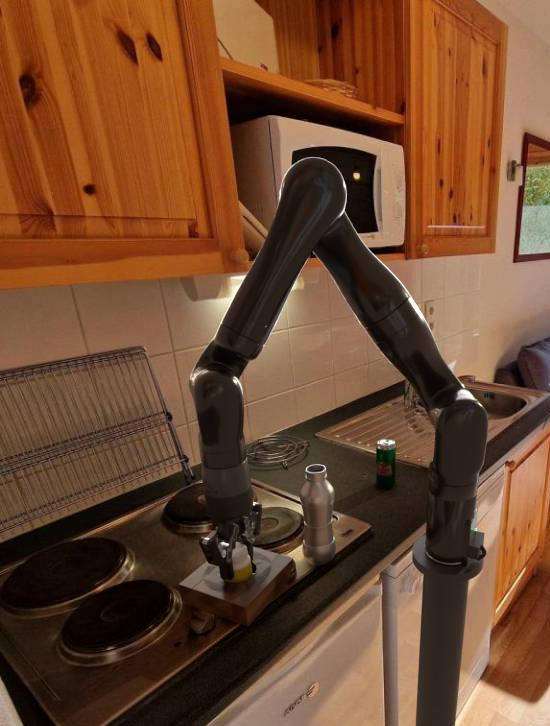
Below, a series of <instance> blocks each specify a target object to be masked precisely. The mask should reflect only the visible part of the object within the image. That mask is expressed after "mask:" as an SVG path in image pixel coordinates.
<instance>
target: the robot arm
mask: <svg viewBox="0 0 550 726" xmlns="http://www.w3.org/2000/svg"><path fill="white" fill-rule="evenodd" d="M279 188H280V189H279V193H278V203H277V207H276V210H275V213H274V217H273V220H272V222H271V225H270V228H269V230H268V232H267V235H266V237H265V239H264V241H263V243H262V245H261V248H260V249H259V252H258V254H257V255H256V257H255V259H254V261H253V262H252V264H251V266H250V268H249V270H248V271H247V273H246V275H245V277H244V278H243V280H242V281H241V283H240V284H239V287H238V288H237V290H236V292H235V294H234V296H233V298H232V299H231V302H230V303H229V306H228V307H227V309H226V311H225V313H224V315H223V317H222V319H221V321H220V323H219V325H218V328H217V330H216V333H215V335H214V337H212V338H211V341H210V342H209V343H208V345H206V347H205V348H204V350H203V351H202V353H201V355H200V356H199V358H198V359H197V362H196V363H195V365H194V367H193V369H192V371H191V373H190V376H189V380H188V389H189V392H190V394H191V397H192V399H193V404H194V409H195V414H196V420H197V425H198V430H199V431H198V435H197V436H198V439H197V440H198V450H199V455H200V461H201V462H200V464H201V481H202V489H203V495H204V501H205V508H206V513H207V514H208V517H209V518H210V519H211V527H210V532H209V534H207V536H200V537H199V539H198V545H199V547H200V549H201V551H202V553H203V555H204V558H205V560H206V562H208V563H209V564H212V565H215V566H218V567H219V571H220V576H221V577H222V578H224V579H227V580H232V579H233V578H234V570H233V562H232V561H231V560H232V553H233V550H234V549H235V548H236V542H237V539H239V543H240V544H244V545H245V546H246V547H247V551H248V555H249V556H250V559H251V562H252V561H253V560H254V558H253V556H254V551H253V547H254V543H255V538H256V536H259V535H260V534H261V530H262V529H261V528H262V516H263V514H262V513H263V511H262V510H263V504H262V503H259V502H255V501H254V496H253V487H252V475H251V470H250V465H249V461H248V456H247V446H246V437H245V433H244V427H245V426H244V425H245V398H244V392H243V391H244V390H243V387H242V384H241V381H240V378H241V377H242V374H243V373H244V371H245V370H246V368H247V366H248V365H249V363H250V362H251V361H254V360H257V358H258V357H259V356H260V354H261V353H262V352H263V349H264V348H265V345H266V344H267V342H268V340H269V338H270V337H271V334H272V333H273V330H274V328H275V327H276V325H277V322H278V321H279V318H280V316H281V314H282V312H283V310H284V307H285V305H286V303H287V301H288V299H289V298H290V297H289V296H290V294H291V293H292V290H293V289H294V287H295V284H296V282H297V280H298V277H299V276H300V274H301V273H302V272H301V271H302V270H303V268H304V267H305V265H306V263H307V262H308V260H309V258H310V257H311V255H312V253H313V255H315V257H316V258H317V259H318V260H319V261H320V263H321V264H322V265H323V267H324V268H325V269H326V271H327V272H328V274H329V275H330V277H331V279H332V280H333V281H334V283H335V285H336V287H337V289H338V290H339V292H340V294H341V295H342V297H343V299H344V300H345V302H346V303H347V305H348V307H349V308H350V310H351V311H352V313H353V314H354V316H355V317H356V319H357V321H358V322H359V324H360V325H361V327H362V328H363V330H364V332H365V333H366V334H367V335H368V337H369V338H370V339H371V341H372V343H373V344H374V345H375V347H376V348H377V349H378V350H379V351H380V353H381V354H382V355H383V356H384V357H385V358H386V360H387V361H388V362H389V363H390V364H391V365H392V366H393V367H394V368H395V369H396V370H397V371H398V372H399V373H400V374H401V375H402V376H403V377H404V378H405V379H406V380H407V381H408V383H409V384H410V386H411V387H412V389H413V390H414V392H415V394H416V396H417V397H418V400H419V401H420V403H421V405H422V406H423V409H424V410H425V413H426V414H427V416H428V419H429V421H430V423H431V425H432V427H433V429H434V443H433V444H434V446H433V455H432V456H433V457H431V459H430V460H429V464H428V481H427V501H426V519H425V520H426V521H425V535H426V539H425V548H424V551H425V554H426V556H427V557H428V558H429V559H430V560H431V561H433V562H435V563H437V564H440V565H444V566H459V565H463V566H467V565H468V563H469V560H470V559H471V558H472V559H476V560H478V561H480V560H481V559H483V558H484V559H485V557H486V556H487V549H486V548H485V546H484V544H485V532H483V531H478V529H477V523H478V515H479V513H478V512H479V511H478V510H479V509H478V508H477V498H478V491H479V490H478V488H479V478H480V471H481V470H482V468H483V466H484V463H485V456H486V451H487V443H488V436H489V415H488V412H487V410H486V408H485V407H484V405H483V404H482V403H481V402H480V401H479V399H478V398H477V397H475V395H474V394H473V393H472V392H471V391H470V390H469V389H468V388H467V387H466V386H465V384H463V382H462V381H461V380H460V379H459V377H457V375H456V374H455V372H453V370H452V368H451V367H449V365H448V363H447V362H446V361H445V359H444V358H443V355H442V354H441V351H440V349H439V347H438V344H437V342H436V339H435V337H434V335H433V331H432V330H431V328H430V325H429V324H428V322H427V320H426V318H425V317H424V314H423V313H422V311H421V310H420V307H418V305H417V303H416V302H415V300H414V299H413V297H412V295H411V294H410V293H409V291H408V289H407V288H406V287H405V285H404V284H403V283H402V281H401V280H400V279H399V278H398V277H397V276H396V275H395V274H394V273H393V272H392V270H390V269H389V268H388V267H387V266H386V265H385V264H384V263H383V262H382V261H381V259H379V258H378V257H377V256H376V255H375V254H374V253H373V252H372V251H371V250H370V249H369V247H368V246H367V245H366V244H365V242H364V241H363V240H362V239H361V236H360V235H359V234H358V232H357V230H356V229H355V227H354V226H353V223H352V221H351V220H350V218H349V216H348V215H347V213H346V211H345V209H346V206H347V205H346V204H347V195H348V193H347V192H348V191H347V185H346V182H345V180H344V177H343V175H342V172H340V170H339V169H338V168H337V166H336V165H335V164H333V163H332V162H330V161H328V160H327V159H325V158H321V157H315V156H311V157H305V158H302V159H300V160H298V161H297V162H295V163H294V164H292V165H291V166H290V167H289V168H288V170H287V171H286V173H285V174H284V176H283V179H282V181H281V185H280V187H279ZM253 523H254V527H253ZM223 550H225V551H226V555H223ZM481 551H482V554H481V555H480V552H481ZM479 555H480V556H479Z"/></svg>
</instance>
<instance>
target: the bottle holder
mask: <svg viewBox="0 0 550 726" xmlns="http://www.w3.org/2000/svg"><path fill="white" fill-rule="evenodd" d="M236 543H240V541H236ZM253 551H254V556H253V558H254V560H253V561H252V562H251V566H252V573H255V574H254V575H253V576H252V577H250V578H249V579H247V580H245V581H241V582H227V581H225V579H224V578H222V577H221V576H220V571H219V567H218V566H215V565H212V564H209V563H208V562H207V561H205V562H204V563H203V564H201V565H200V566H199V567H198V568H197V569H196V570H194V571H193V572H192V573H190V574H189V575H188V576H186V578H185V579H183V580H182V581H181V582H179V583H178V589H179V594H180V600H181V603H182V604H185V605H187V606H190V607H193V608H196V609H198V610H201V611H204V612H207V613H209V614H212V615H215V616H218V617H220V618H223V619H225V620H228V621H231V622H234V623H236V624H239V625H241V626H244V627H249V626H250V625H251V624H252V623H253V622H254V621H255V620H256V618H258V616H259V615H260V614H261V613H262V612H263V611H264V610H265V609H266V608H267V606H268V605H269V604H270V603H272V601H273V600H274V599H275V598H276V597H277V595H279V593H280V592H281V591H282V590H283V589H284V588H285V587H286V586H287V584H288V583H290V581H291V580H293V578H294V577H295V571H294V572H293V573H292V574H291V575H290V573H291V570H292V568H293V567H294V568H295V565H294V564H295V563H294V557H291V556H287V555H283V554H279V553H277V552H273V551H271V550H266V549H263V548H260V547H255V546H253ZM223 555H224V550H223ZM289 576H290V577H289Z"/></svg>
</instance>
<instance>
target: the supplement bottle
mask: <svg viewBox="0 0 550 726" xmlns="http://www.w3.org/2000/svg"><path fill="white" fill-rule="evenodd" d="M224 555H226V551H225V550H224ZM231 561H232V562H233V570H234V578H233V579H232V580H227V579H225V581H227V582H241V581H245V580H247V579H249V578H250V577H252V576H253V575H252V566H251V559H250V556H249V555H248V551H247V547H246V546H245V545H244V544H240V542H239V543H236V548H235V549H234V550H233V553H232V560H231Z"/></svg>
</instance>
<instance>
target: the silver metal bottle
mask: <svg viewBox="0 0 550 726" xmlns="http://www.w3.org/2000/svg"><path fill="white" fill-rule="evenodd" d="M327 479H328V474H327V467H326V466H325V465H323V464H319V463H318V464H311V465H308V466H307V467H306V468H305V480H306V481H305V482H304V484H303V485H302V488H300V492H299V500H300V505H301V509H302V515H303V516H302V517H303V525H304V528H303V529H304V530H303V541H302V548H301V551H302V556H303V558H304V560H305V561H306V562H307V563H308V564H310V565H311V566H324V565H327V564H328V563H330V562H331V561H332V560H333V558H335V556H336V552H337V551H336V550H337V542H336V539H335V535H334V527H333V514H334V513H333V512H334V511H333V510H334V503H335V494H336V493H335V489H334V487H333V485H332V484H331V482H329V481H328V480H327Z"/></svg>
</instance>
